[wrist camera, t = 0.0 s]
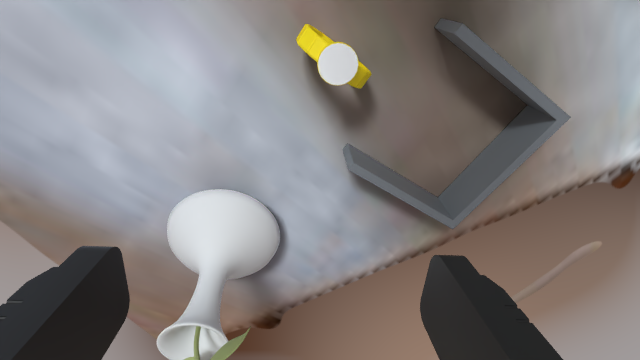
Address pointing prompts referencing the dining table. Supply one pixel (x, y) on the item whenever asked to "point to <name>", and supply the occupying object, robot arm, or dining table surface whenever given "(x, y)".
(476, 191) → the box
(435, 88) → the dining table surface
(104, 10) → the dining table surface
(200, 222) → the flower in vase
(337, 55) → the watch
